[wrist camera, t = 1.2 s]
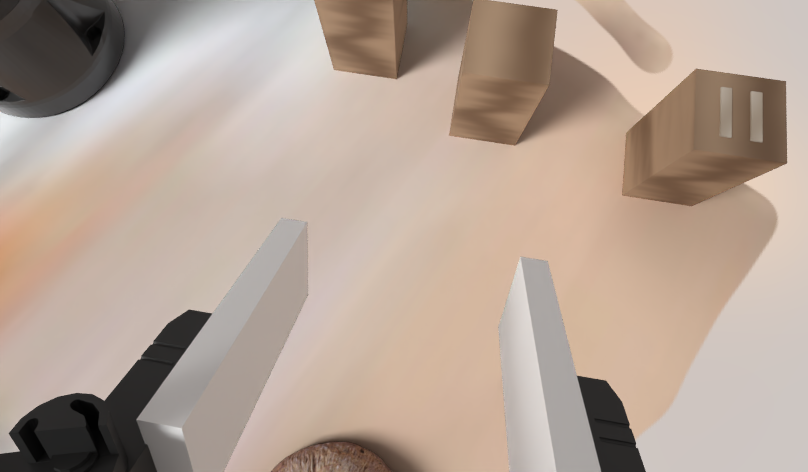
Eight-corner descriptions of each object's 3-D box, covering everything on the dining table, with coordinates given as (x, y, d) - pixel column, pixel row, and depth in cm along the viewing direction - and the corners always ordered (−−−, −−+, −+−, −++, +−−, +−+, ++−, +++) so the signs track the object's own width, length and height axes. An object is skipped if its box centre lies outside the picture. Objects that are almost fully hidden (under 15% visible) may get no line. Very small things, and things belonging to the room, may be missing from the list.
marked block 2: (334, 69, 42) (311, -12, 32) (346, 14, 43) (328, -81, 33) (396, 79, 42) (392, 0, 32) (407, 22, 43) (406, -71, 33)
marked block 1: (622, 195, 39) (694, 148, 29) (626, 131, 40) (697, 66, 30) (691, 206, 39) (788, 162, 29) (693, 141, 40) (787, 78, 30)
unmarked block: (449, 135, 40) (462, 72, 31) (458, 77, 42) (473, -2, 32) (514, 145, 40) (549, 85, 30) (522, 86, 41) (557, 9, 32)
